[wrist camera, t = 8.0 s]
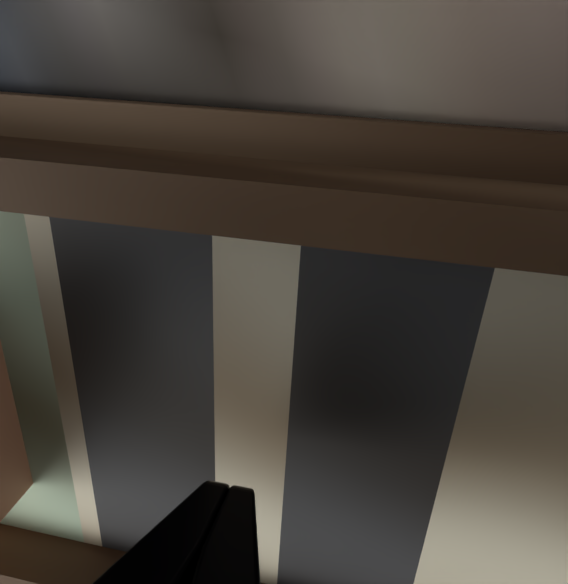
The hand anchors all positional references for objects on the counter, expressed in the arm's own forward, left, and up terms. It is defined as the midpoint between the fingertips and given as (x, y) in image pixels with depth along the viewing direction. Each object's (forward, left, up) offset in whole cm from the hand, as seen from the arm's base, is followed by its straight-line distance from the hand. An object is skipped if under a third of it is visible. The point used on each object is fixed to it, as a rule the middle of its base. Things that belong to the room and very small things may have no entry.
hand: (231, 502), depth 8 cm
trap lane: (0, 0, -3) cm, 3 cm away
